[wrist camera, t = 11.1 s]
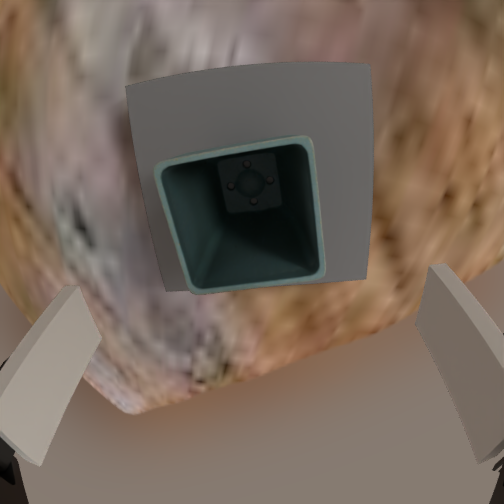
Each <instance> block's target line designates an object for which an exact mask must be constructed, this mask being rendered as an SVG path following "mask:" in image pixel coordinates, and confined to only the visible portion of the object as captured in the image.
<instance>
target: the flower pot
mask: <svg viewBox="0 0 504 504" xmlns="http://www.w3.org/2000/svg"><path fill="white" fill-rule="evenodd" d="M245 161H249V162H250V166H249V167H245V166H244V162H245ZM153 176H154V180H155V184H156V187H157V190H158V193H159V197H160V200H161V204H162V207H163V210H164V213H165V217H166V220H167V223H168V226H169V229H170V233H171V236H172V239H173V242H174V245H175V248H176V252H177V255H178V259H179V262H180V265H181V268H182V272H183V274H184V278H185V282H186V285H187V287H188V289H189V290H190V292H191V293H192V294H194V295H206V294H212V293H220V292H227V291H236V290H245V289H252V288H260V287H268V286H277V285H285V284H292V283H301V282H308V281H314V280H318V279H321V278H323V277H324V276H325V273H326V261H325V251H324V240H323V230H322V219H321V210H320V197H319V188H318V179H317V170H316V160H315V151H314V145H313V142H312V140H311V138H310V137H308V136H305V135H284V136H278V137H271V138H266V139H260V140H254V141H248V142H243V143H237V144H231V145H226V146H220V147H215V148H210V149H204V150H199V151H194V152H189V153H185V154H182V155H178V156H175V157H172V158H169V159H166V160H163V161H160V162H158V163H156V164H155V165H154V166H153ZM268 177H272V178H273V182H272V183H269V182H267V178H268ZM229 183H233V184H234V188H233V189H230V188H229V187H228V184H229ZM253 198H256V199H257V202H256V203H254V204H253V203H252V202H251V199H253Z"/></svg>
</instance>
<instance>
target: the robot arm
mask: <svg viewBox="0 0 504 504" xmlns="http://www.w3.org/2000/svg"><path fill="white" fill-rule="evenodd" d="M415 325H416V327H417V329H418V330H419V332H420V334H421V336H422V338H423V340H424V342H425V344H426V346H427V348H428V350H429V352H430V354H431V356H432V358H433V360H434V362H435V364H436V366H437V368H438V370H439V372H440V374H441V376H442V378H443V380H444V383H445V385H446V387H447V389H448V392H449V394H450V396H451V398H452V400H453V403H454V405H455V407H456V410H457V412H458V414H459V417H460V419H461V422H462V424H463V426H464V429H465V431H466V434H467V437H468V439H469V442H470V445H471V447H472V450H473V452H474V455H475V458H476V461H477V464H480V463H482V462H484V461H486V460H489V459H491V458H493V457H495V456H497V455H498V454H499V453H500V452H501V451H502V450H503V449H504V333H503V334H502V332H501V331H500V330H499V328H498V327H497V326H496V324H495V323H494V322H493V320H492V319H491V317H490V316H489V315H488V314H487V312H486V311H485V310H484V308H482V306H481V305H480V303H479V302H478V301H477V300H476V298H475V297H474V296H473V295H472V293H471V292H470V291H469V290H468V289H467V287H466V286H465V285H464V284H463V283H462V281H461V280H460V279H459V278H458V277H457V275H456V274H455V273H454V272H453V271H452V270H451V269H450V267H449V266H448V265H447V264H446V263H444V264H434V265H429V268H428V273H427V278H426V282H425V286H424V291H423V295H422V299H421V303H420V307H419V311H418V315H417V318H416V322H415ZM101 339H102V337H101V335H100V333H99V331H98V329H97V326H96V324H95V322H94V320H93V318H92V315H91V313H90V311H89V309H88V306H87V304H86V302H85V299H84V297H83V294H82V292H81V289H80V287H79V286H64V287H63V289H62V290H61V291H60V292H59V293H58V295H57V296H56V297H55V298H54V299H53V301H52V302H51V303H50V304H49V306H48V307H47V308H46V309H45V311H44V312H43V313H42V314H41V316H40V317H39V318H38V319H37V321H36V322H35V323H34V325H33V326H32V327H31V329H30V330H29V332H28V333H27V334H26V335H25V337H24V338H23V339H22V341H21V342H20V343H19V345H18V346H17V348H16V349H15V350H14V352H13V353H12V355H11V356H10V357H9V358H8V359H7V360H5V361H4V362H3V364H2V365H1V367H0V504H29V502H28V499H27V496H26V492H25V489H24V485H23V481H22V477H21V472H20V468H19V464H18V461H17V459H16V458H15V457H14V456H13V455H14V453H15V451H16V452H17V453H18V454H19V455H20V456H21V457H23V458H24V459H25V460H26V461H29V462H31V463H33V464H35V465H38V466H41V465H42V462H43V460H44V457H45V455H46V452H47V450H48V447H49V445H50V443H51V441H52V438H53V436H54V434H55V431H56V429H57V427H58V425H59V423H60V420H61V418H62V416H63V414H64V412H65V410H66V408H67V405H68V404H69V401H70V399H71V397H72V395H73V393H74V391H75V389H76V387H77V385H78V383H79V381H80V379H81V377H82V375H83V373H84V371H85V369H86V367H87V366H88V364H89V362H90V360H91V358H92V356H93V354H94V352H95V350H96V349H97V347H98V345H99V343H100V341H101ZM502 464H503V465H502ZM501 465H502V468H501V469H500V470H499V472H500V475H499V478H498V481H497V484H496V487H495V490H494V492H493V495H492V498H491V501H490V503H489V504H504V457H503V458H502V459H501V460H500V461H498V462H497V463H496V464H495V466H494V468H493V469H492V470H493V471H495V470H496V469H497V468H499V467H500V466H501Z"/></svg>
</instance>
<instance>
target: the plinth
mask: <svg viewBox="0 0 504 504" xmlns="http://www.w3.org/2000/svg"><path fill="white" fill-rule="evenodd" d="M125 88H126V96H127V104H128V112H129V119H130V126H131V132H132V139H133V145H134V151H135V157H136V163H137V168H138V173H139V179H140V184H141V189H142V194H143V199H144V204H145V208H146V213H147V218H148V222H149V227H150V231H151V235H152V239H153V244H154V248H155V252H156V256H157V260H158V264H159V268H160V271H161V275H162V279H163V283H164V286H165V290H166V292H167V291H190V290H189V289H188V287H187V285H186V282H185V278H184V274H183V272H182V268H181V265H180V262H179V259H178V255H177V252H176V248H175V245H174V242H173V239H172V236H171V233H170V229H169V226H168V223H167V220H166V217H165V213H164V210H163V207H162V204H161V200H160V197H159V193H158V190H157V187H156V184H155V180H154V176H153V166H154V165H155V164H156V163H158V162H160V161H163V160H166V159H169V158H172V157H175V156H178V155H182V154H185V153H189V152H194V151H199V150H204V149H210V148H215V147H220V146H226V145H231V144H237V143H243V142H248V141H254V140H260V139H266V138H271V137H278V136H284V135H305V136H308V137H310V138H311V140H312V142H313V145H314V151H315V160H316V170H317V179H318V188H319V197H320V210H321V219H322V230H323V240H324V251H325V261H326V273H325V276H324V277H323V278H321V279H318V280H314V281H308V282H301V283H292V284H285V285H277V286H286V285H301V284H315V283H328V282H340V281H352V280H364V279H366V276H367V266H368V256H369V245H370V233H371V218H372V200H373V170H374V129H373V99H372V82H371V68H370V64H364V63H346V62H282V63H264V64H251V65H241V66H231V67H223V68H215V69H208V70H201V71H195V72H189V73H183V74H178V75H173V76H168V77H163V78H158V79H153V80H149V81H145V82H140V83H136V84H132V85H128V86H125ZM244 166H245V167H249V166H250V162H249V161H245V162H244ZM267 182H269V183H272V182H273V178H272V177H268V178H267ZM228 187H229V188H230V189H233V188H234V184H233V183H229V184H228ZM251 202H252V203H253V204H254V203H256V202H257V199H256V198H253V199H251ZM268 287H271V286H268Z"/></svg>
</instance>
